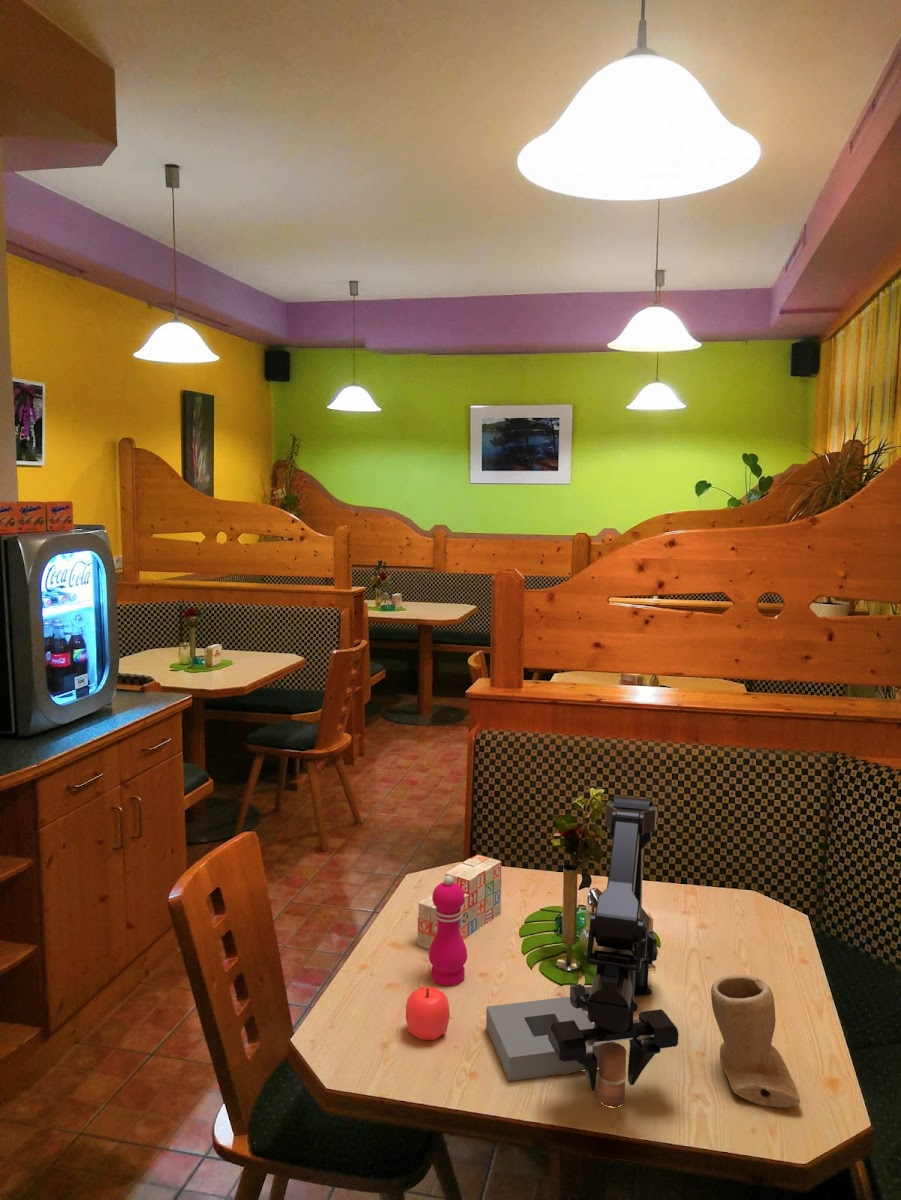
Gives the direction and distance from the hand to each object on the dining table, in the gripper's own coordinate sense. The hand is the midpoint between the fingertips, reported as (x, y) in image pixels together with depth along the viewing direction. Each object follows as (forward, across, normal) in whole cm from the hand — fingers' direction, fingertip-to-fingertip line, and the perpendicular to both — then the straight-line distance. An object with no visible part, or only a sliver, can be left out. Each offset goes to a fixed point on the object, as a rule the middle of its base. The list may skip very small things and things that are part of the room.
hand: (611, 1086), depth 136 cm
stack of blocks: (+2, +10, -56) cm, 57 cm away
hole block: (+2, +6, -14) cm, 15 cm away
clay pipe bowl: (+2, -23, 0) cm, 23 cm away
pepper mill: (+2, +17, -38) cm, 42 cm away
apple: (+2, +24, -22) cm, 33 cm away
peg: (+2, 0, 0) cm, 2 cm away
